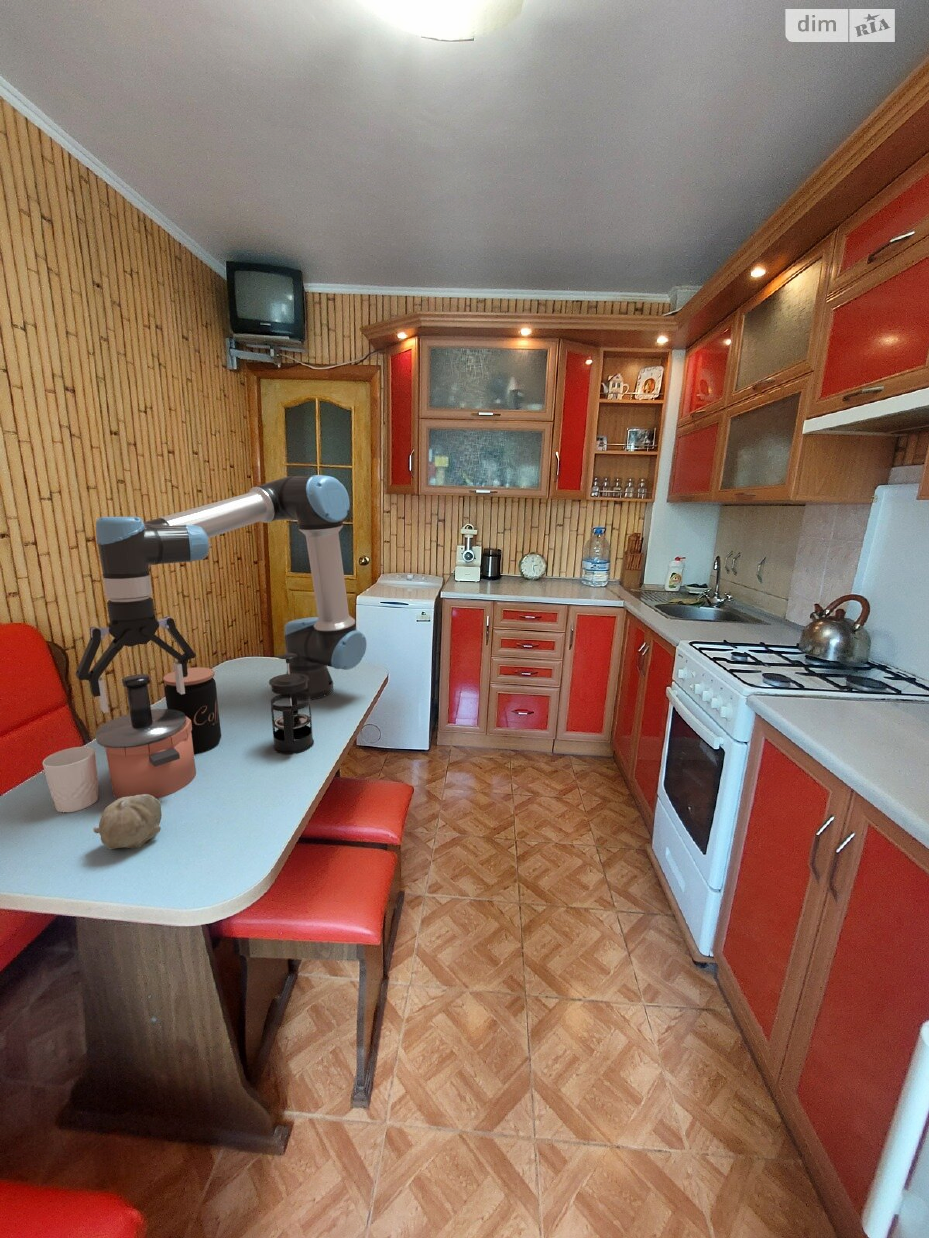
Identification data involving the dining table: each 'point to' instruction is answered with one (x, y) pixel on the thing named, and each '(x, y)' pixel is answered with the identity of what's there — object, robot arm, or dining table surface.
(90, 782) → the white cup
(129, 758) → the pot
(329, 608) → the robot arm
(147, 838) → the garlic bulb
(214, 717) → the coffee jar
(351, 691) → the dining table surface
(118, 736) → the lid
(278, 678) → the french press
